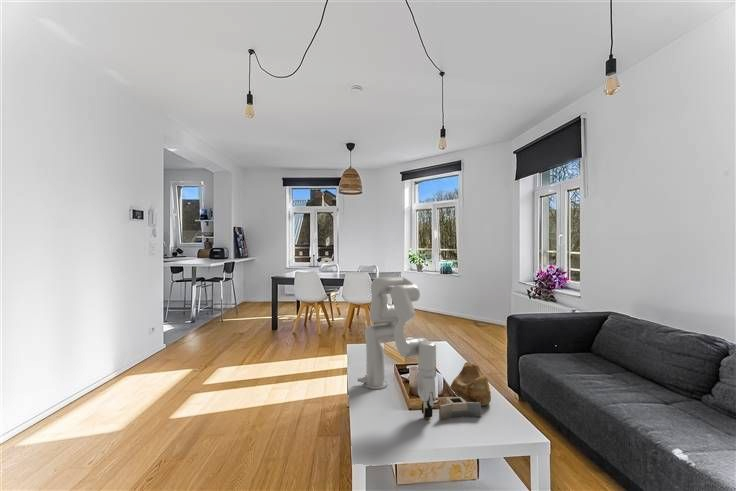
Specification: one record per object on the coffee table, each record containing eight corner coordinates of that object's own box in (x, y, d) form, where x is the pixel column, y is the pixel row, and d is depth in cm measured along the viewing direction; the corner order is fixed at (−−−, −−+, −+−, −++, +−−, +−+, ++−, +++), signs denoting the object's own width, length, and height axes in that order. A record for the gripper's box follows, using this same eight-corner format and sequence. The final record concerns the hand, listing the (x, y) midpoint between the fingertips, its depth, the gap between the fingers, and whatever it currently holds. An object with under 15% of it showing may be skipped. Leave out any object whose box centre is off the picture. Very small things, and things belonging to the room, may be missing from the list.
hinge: (439, 420, 160) (439, 406, 160) (433, 412, 169) (433, 398, 169) (481, 417, 164) (481, 403, 164) (472, 409, 172) (472, 395, 172)
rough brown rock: (446, 391, 195) (444, 362, 195) (478, 387, 196) (476, 359, 195) (458, 412, 172) (455, 379, 172) (494, 408, 173) (492, 376, 172)
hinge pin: (424, 420, 161) (424, 399, 161) (422, 417, 164) (422, 396, 164) (431, 419, 161) (431, 398, 161) (429, 416, 164) (429, 395, 164)
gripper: (412, 366, 170) (412, 407, 170) (424, 378, 154) (424, 424, 154) (429, 365, 171) (429, 406, 171) (442, 377, 155) (442, 423, 155)
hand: (427, 414), depth 162 cm, fingers closed on hinge pin, 3 cm apart
